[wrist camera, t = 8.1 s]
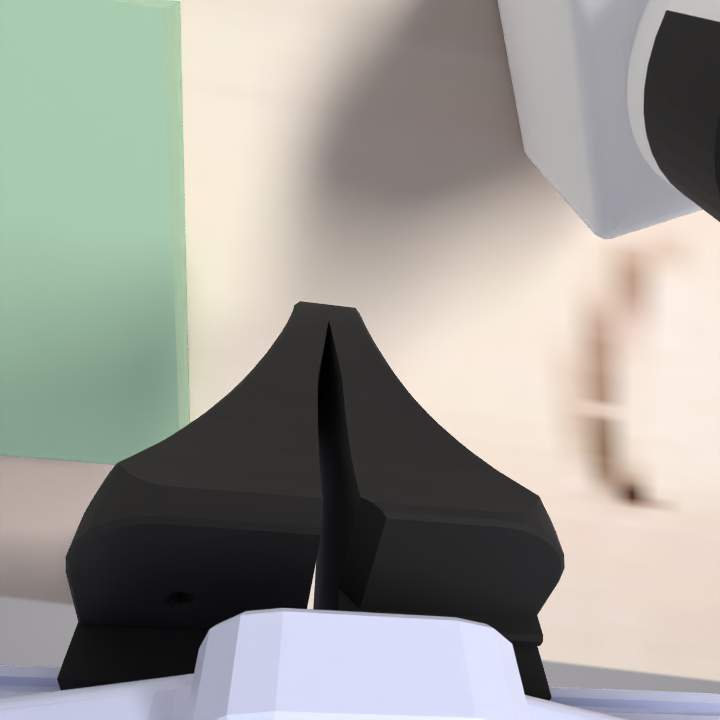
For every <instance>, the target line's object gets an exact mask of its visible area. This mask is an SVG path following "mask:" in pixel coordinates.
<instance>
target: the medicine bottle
mask: <svg viewBox="0 0 720 720" xmlns="http://www.w3.org/2000/svg"><path fill="white" fill-rule="evenodd" d="M498 6H499V12H500V17H501V23H502V28H503V34H504V40H505V45H506V51H507V57H508V62H509V68H510V73H511V79H512V85H513V90H514V96H515V101H516V107H517V113H518V118H519V124H520V129H521V135H522V141H523V146H524V151H525V153H526V155H527V157H528V158H529V159H530V160H531V161H532V162H533V164H534V165H535V166H536V167H537V168H538V169H539V171H540V172H541V173H542V174H543V175H544V176H545V177H546V179H547V180H548V181H549V182H550V183H551V184H552V186H553V187H554V188H555V189H556V190H557V191H558V192H559V194H560V195H561V196H562V197H563V198H564V199H565V201H566V202H567V203H568V204H569V205H570V206H571V207H572V209H573V210H574V211H575V212H576V213H577V214H578V216H579V217H580V218H581V219H582V220H583V221H584V222H585V224H586V225H587V226H588V227H589V228H590V229H591V231H592V232H593V233H594V234H595V235H597V236H599V237H601V238H603V239H612V238H615V237H618V236H621V235H624V234H627V233H630V232H633V231H637V230H640V229H643V228H646V227H649V226H652V225H655V224H658V223H662V222H665V221H668V220H671V219H674V218H677V217H680V216H683V215H687V214H690V213H693V212H696V211H699V210H702V209H703V210H705V211H706V212H707V213H709V214H710V215H711V216H713V217H714V218H715V219H717V220H718V221H719V222H720V0H498Z"/></svg>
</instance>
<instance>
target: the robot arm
mask: <svg viewBox="0 0 720 720" xmlns="http://www.w3.org/2000/svg"><path fill="white" fill-rule="evenodd" d="M315 564H316V575H315V592H314V608H313V609H307V605H308V600H309V595H310V590H311V585H312V579H313V574H314V569H315ZM563 570H564V553H563V551H562V548H561V545H560V542H559V540H558V537H557V534H556V531H555V529H554V527H553V524H552V522H551V519H550V517H549V515H548V513H547V511H546V509H545V507H544V505H543V503H542V501H541V499H540V497H539V496H538V495H536V494H535V493H533V492H531V491H530V490H528V489H526V488H525V487H523V486H522V485H520V484H518V483H517V482H515V481H513V480H512V479H510V478H508V477H507V476H505V475H504V474H502V473H500V472H499V471H497V470H496V469H494V468H493V467H492V466H490V465H489V464H487V463H486V462H485V461H483V460H482V459H480V458H479V457H478V456H476V455H475V454H474V453H472V452H471V451H470V450H468V449H467V448H466V447H465V446H463V445H462V444H461V443H460V442H458V441H457V440H456V439H455V438H454V437H453V436H452V435H450V434H449V433H448V432H447V431H446V430H445V429H444V428H442V427H441V426H440V425H439V424H438V423H437V422H436V421H435V420H434V419H433V418H432V417H431V416H430V415H429V414H428V413H427V412H426V411H425V410H424V409H423V408H422V407H421V406H420V405H419V404H418V402H417V401H416V400H415V399H414V398H413V397H412V396H411V395H410V393H409V392H408V391H407V390H406V388H405V387H404V386H403V384H402V383H401V382H400V380H399V379H398V378H397V376H396V375H395V374H394V372H393V371H392V369H391V368H390V366H389V365H388V363H387V362H386V360H385V359H384V357H383V356H382V354H381V352H380V351H379V349H378V348H377V346H376V344H375V343H374V341H373V339H372V337H371V335H370V334H369V332H368V330H367V328H366V326H365V324H364V322H363V320H362V318H361V316H360V314H359V312H358V311H357V310H356V308H351V307H342V306H334V305H326V304H318V303H309V302H301V301H300V302H299V303H297V304H296V305H294V309H293V312H292V314H291V316H290V318H289V320H288V322H287V324H286V326H285V327H284V329H283V331H282V332H281V334H280V335H279V336H278V338H277V339H276V341H275V342H274V344H273V345H272V347H271V348H270V349H269V351H268V352H267V353H266V354H265V356H264V357H263V358H262V359H261V360H260V361H259V363H258V364H257V365H256V366H255V367H254V369H253V370H252V371H251V372H250V373H249V374H248V375H247V376H246V377H245V378H244V379H243V380H242V381H241V382H240V383H239V384H238V385H237V386H236V387H235V388H234V389H233V390H232V391H231V392H230V393H229V394H228V395H226V396H225V397H224V398H223V399H222V400H220V401H219V402H218V403H217V404H215V405H214V406H213V407H212V408H211V409H209V410H208V411H207V412H205V413H204V414H203V415H201V416H200V417H199V418H197V419H196V420H194V421H193V422H191V423H190V424H188V425H187V426H185V427H184V428H182V429H180V430H179V431H177V432H176V433H174V434H173V435H171V436H170V437H168V438H166V439H165V440H163V441H161V442H159V443H157V444H155V445H153V446H151V447H149V448H147V449H145V450H143V451H141V452H139V453H137V454H135V455H133V456H131V457H129V458H126V459H124V460H122V461H120V462H118V463H117V464H116V465H115V466H114V468H113V469H112V470H111V472H110V473H109V475H108V476H107V477H106V479H105V480H104V482H103V483H102V485H101V486H100V488H99V490H98V491H97V493H96V494H95V496H94V498H93V499H92V501H91V502H90V504H89V506H88V508H87V509H86V511H85V513H84V515H83V518H82V520H81V522H80V524H79V527H78V529H77V531H76V534H75V536H74V538H73V541H72V543H71V546H70V548H69V550H68V553H67V555H66V574H67V578H68V582H69V586H70V590H71V594H72V598H73V602H74V606H75V610H76V614H77V618H78V624H77V627H76V629H75V632H74V635H73V638H72V640H71V643H70V646H69V648H68V651H67V654H66V656H65V659H64V661H63V664H62V667H42V666H18V665H0V720H720V694H716V693H691V692H667V691H641V690H615V689H591V688H565V687H549V686H548V682H547V679H546V675H545V672H544V668H543V665H542V661H541V658H540V654H539V651H538V647H537V646H540V645H541V643H542V642H543V634H542V630H541V627H540V624H539V620H538V617H537V614H538V613H539V611H540V610H541V608H542V607H543V605H544V604H545V602H546V600H547V599H548V597H549V596H550V594H551V593H552V591H553V590H554V588H555V587H556V585H557V583H558V582H559V580H560V577H561V575H562V573H563Z"/></svg>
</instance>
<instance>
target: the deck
mask: <svg viewBox="0 0 720 720" xmlns="http://www.w3.org/2000/svg"><path fill="white" fill-rule="evenodd" d="M188 424H190V421H189V378H188V334H187V291H186V247H185V203H184V160H183V116H182V73H181V29H180V2H179V1H173V0H0V455H5V456H17V457H29V458H41V459H54V460H66V461H78V462H90V463H102V464H114V465H116V464H117V463H118V462H120V461H122V460H124V459H126V458H129V457H131V456H133V455H135V454H137V453H139V452H141V451H143V450H145V449H147V448H149V447H151V446H153V445H155V444H157V443H159V442H161V441H163V440H165V439H166V438H168V437H170V436H171V435H173V434H174V433H176V432H177V431H179V430H180V429H182V428H184V427H185V426H187V425H188Z"/></svg>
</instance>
